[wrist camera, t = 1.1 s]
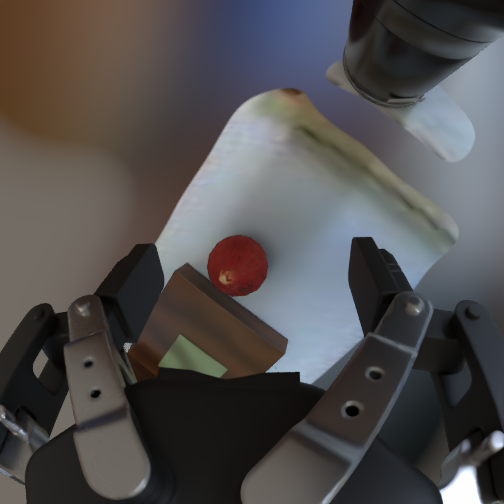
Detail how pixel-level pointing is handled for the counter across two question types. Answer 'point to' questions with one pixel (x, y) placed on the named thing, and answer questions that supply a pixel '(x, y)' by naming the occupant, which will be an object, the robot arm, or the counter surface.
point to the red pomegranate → (237, 265)
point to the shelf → (203, 333)
